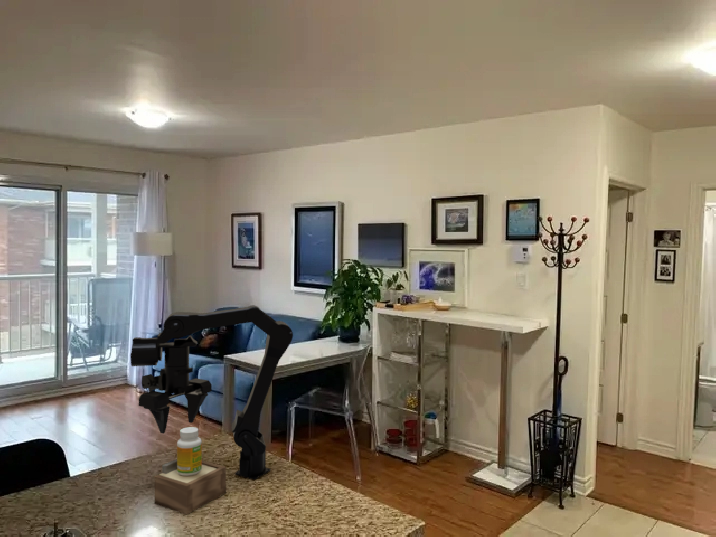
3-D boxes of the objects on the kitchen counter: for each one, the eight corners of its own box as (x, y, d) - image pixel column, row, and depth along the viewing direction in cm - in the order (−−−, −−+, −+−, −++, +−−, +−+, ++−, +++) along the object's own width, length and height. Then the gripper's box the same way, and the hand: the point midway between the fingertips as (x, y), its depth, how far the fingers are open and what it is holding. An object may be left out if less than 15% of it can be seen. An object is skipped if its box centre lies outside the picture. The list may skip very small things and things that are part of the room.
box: (194, 483, 134) (194, 458, 134) (225, 493, 129) (225, 466, 129) (154, 503, 123) (154, 476, 123) (186, 514, 118) (186, 486, 118)
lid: (189, 463, 132) (189, 453, 132) (217, 471, 128) (217, 461, 128) (158, 477, 124) (158, 466, 124) (187, 486, 120) (187, 475, 120)
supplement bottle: (194, 477, 123) (194, 434, 123) (172, 475, 124) (172, 432, 124) (205, 468, 128) (205, 426, 128) (184, 466, 129) (184, 425, 129)
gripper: (181, 354, 147) (181, 412, 147) (122, 368, 130) (122, 433, 131) (213, 359, 142) (213, 419, 142) (155, 373, 125) (156, 441, 126)
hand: (177, 427), depth 135 cm, fingers open, 9 cm apart
